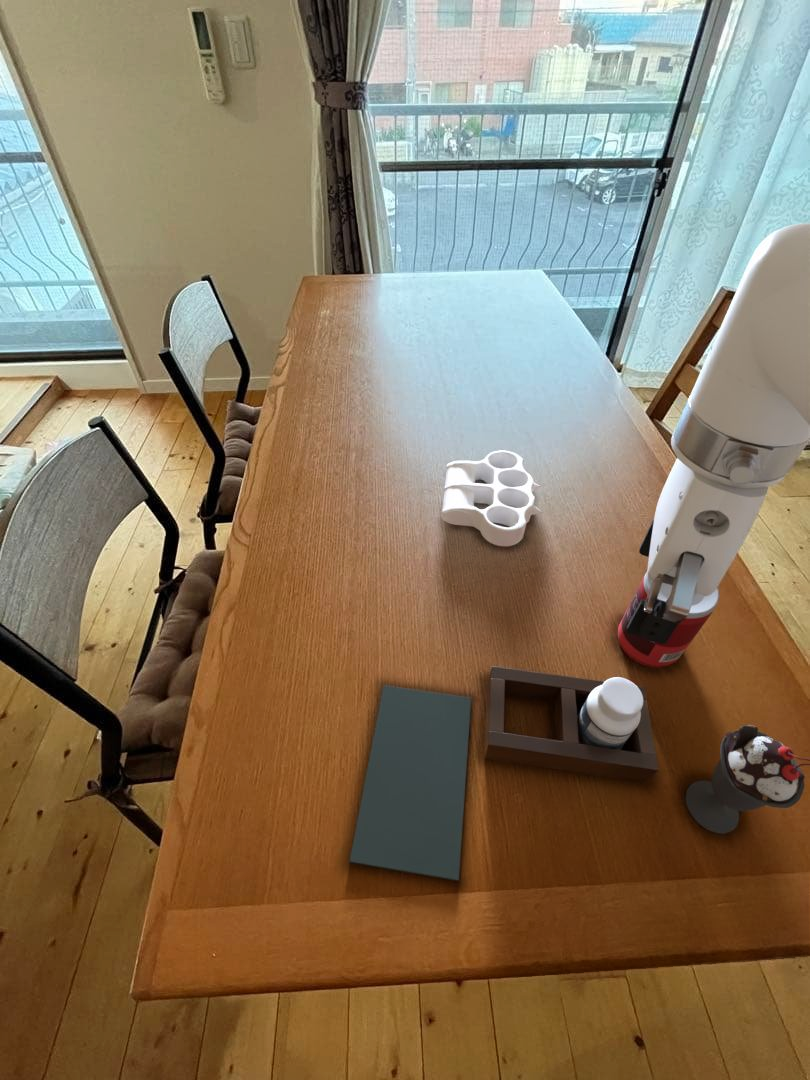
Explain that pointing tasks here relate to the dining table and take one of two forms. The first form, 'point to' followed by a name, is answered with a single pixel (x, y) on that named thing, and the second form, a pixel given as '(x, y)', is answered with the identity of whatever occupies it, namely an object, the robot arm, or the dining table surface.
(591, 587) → the dining table surface
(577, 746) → the holder
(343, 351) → the dining table surface
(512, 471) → the white brass knuckles
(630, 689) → the pill bottle
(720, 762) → the sundae
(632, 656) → the canned food
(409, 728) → the mat
